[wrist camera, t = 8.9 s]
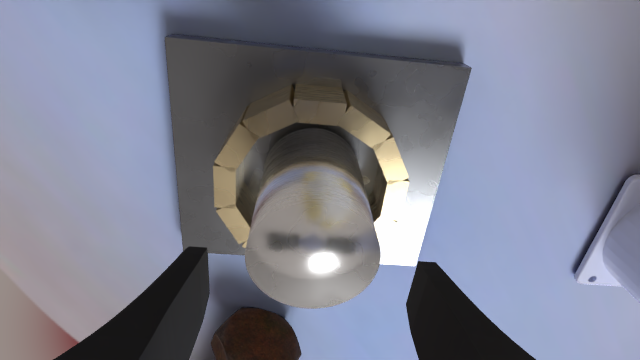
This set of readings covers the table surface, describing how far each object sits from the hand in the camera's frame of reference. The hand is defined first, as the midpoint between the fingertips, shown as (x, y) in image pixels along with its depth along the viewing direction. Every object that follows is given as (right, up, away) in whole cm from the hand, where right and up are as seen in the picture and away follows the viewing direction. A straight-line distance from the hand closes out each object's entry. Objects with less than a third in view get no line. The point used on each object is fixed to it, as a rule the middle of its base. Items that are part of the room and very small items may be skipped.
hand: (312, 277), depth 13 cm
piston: (0, +4, +7) cm, 8 cm away
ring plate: (0, +4, +8) cm, 9 cm away
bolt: (-7, -12, +17) cm, 22 cm away
